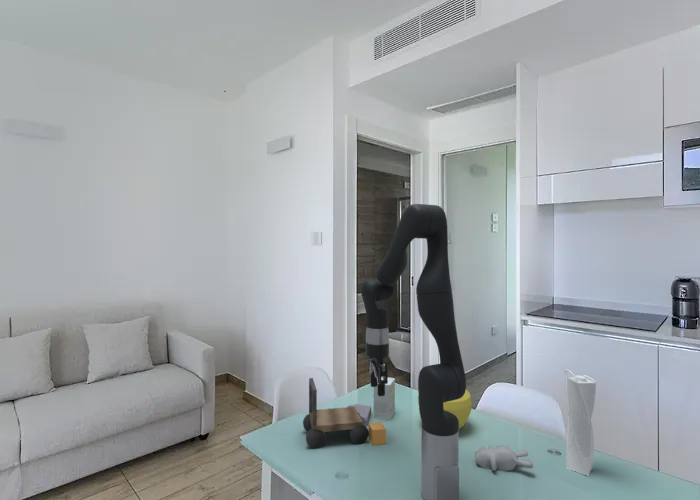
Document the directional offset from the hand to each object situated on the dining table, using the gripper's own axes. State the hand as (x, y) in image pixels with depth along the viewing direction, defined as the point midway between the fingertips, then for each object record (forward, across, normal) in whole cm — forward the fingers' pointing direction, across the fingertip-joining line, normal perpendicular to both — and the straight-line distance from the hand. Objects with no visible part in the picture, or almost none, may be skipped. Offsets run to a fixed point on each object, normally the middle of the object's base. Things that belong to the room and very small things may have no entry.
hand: (377, 390), depth 127 cm
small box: (+16, +18, -8) cm, 26 cm away
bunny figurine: (+17, -21, -31) cm, 41 cm away
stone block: (+17, +18, +3) cm, 24 cm away
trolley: (+16, +6, +13) cm, 22 cm away
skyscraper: (+17, -26, -52) cm, 61 cm away
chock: (+16, 0, 0) cm, 16 cm away
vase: (+16, +6, -26) cm, 31 cm away
